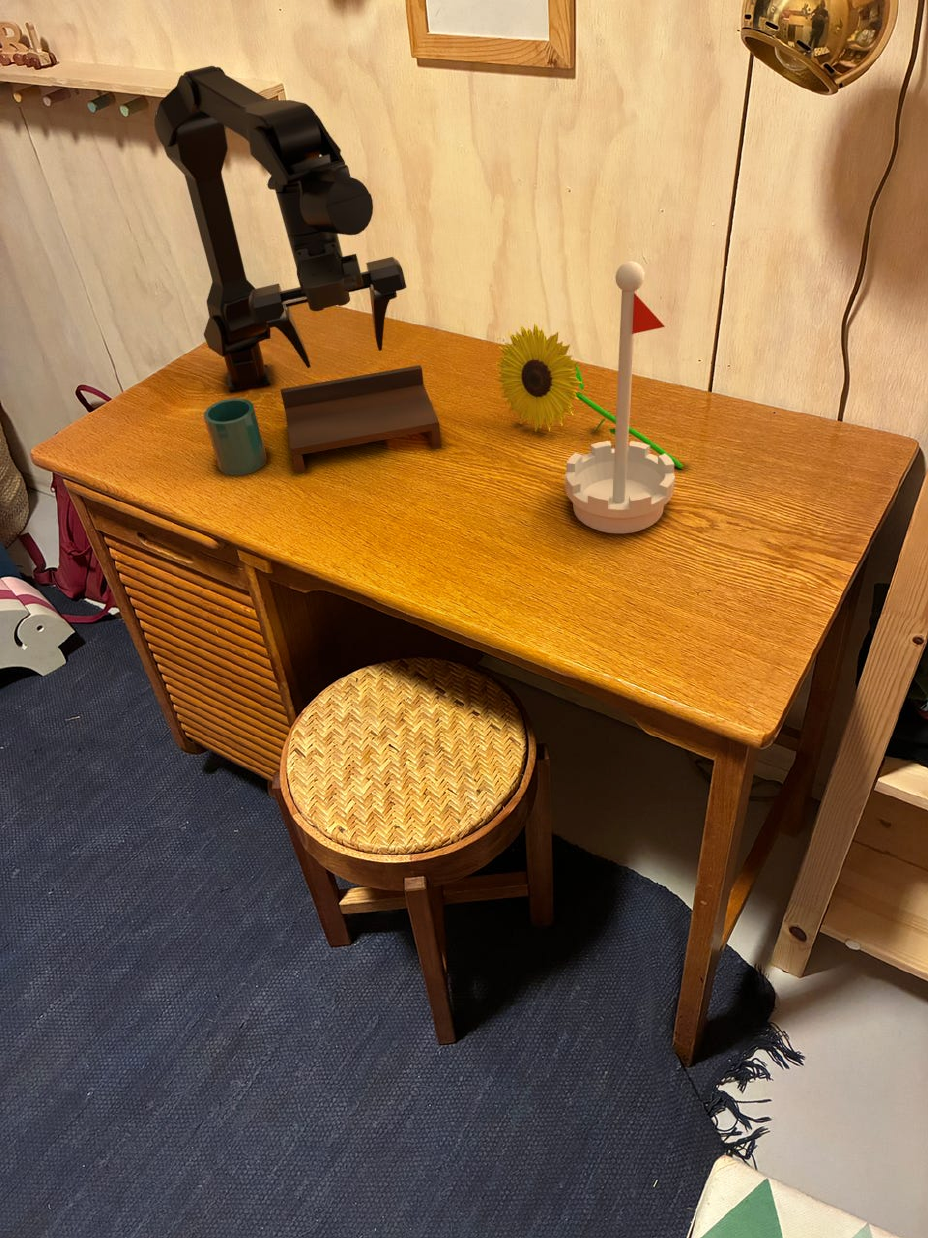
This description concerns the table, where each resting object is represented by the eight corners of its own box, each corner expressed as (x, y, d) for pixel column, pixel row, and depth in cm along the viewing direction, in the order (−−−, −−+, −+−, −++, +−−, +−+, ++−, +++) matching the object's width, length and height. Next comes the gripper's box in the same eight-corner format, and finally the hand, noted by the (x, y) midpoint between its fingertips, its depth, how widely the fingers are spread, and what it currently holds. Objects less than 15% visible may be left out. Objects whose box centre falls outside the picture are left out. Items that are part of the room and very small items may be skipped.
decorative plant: (714, 417, 113) (533, 295, 123) (692, 430, 110) (507, 303, 119) (664, 506, 123) (501, 387, 133) (642, 521, 120) (475, 397, 129)
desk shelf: (289, 429, 132) (280, 388, 128) (425, 405, 134) (420, 364, 130) (296, 474, 123) (286, 431, 119) (441, 447, 125) (437, 404, 121)
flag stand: (543, 504, 114) (538, 264, 94) (618, 464, 119) (630, 228, 99) (617, 552, 106) (630, 301, 86) (695, 507, 111) (724, 260, 91)
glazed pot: (218, 454, 128) (203, 403, 123) (265, 445, 129) (252, 394, 124) (219, 479, 124) (203, 427, 118) (268, 470, 124) (254, 418, 119)
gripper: (230, 262, 100) (272, 397, 109) (396, 223, 101) (425, 360, 109) (233, 241, 109) (272, 367, 118) (386, 206, 110) (413, 334, 119)
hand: (344, 358), depth 116 cm, fingers open, 9 cm apart
